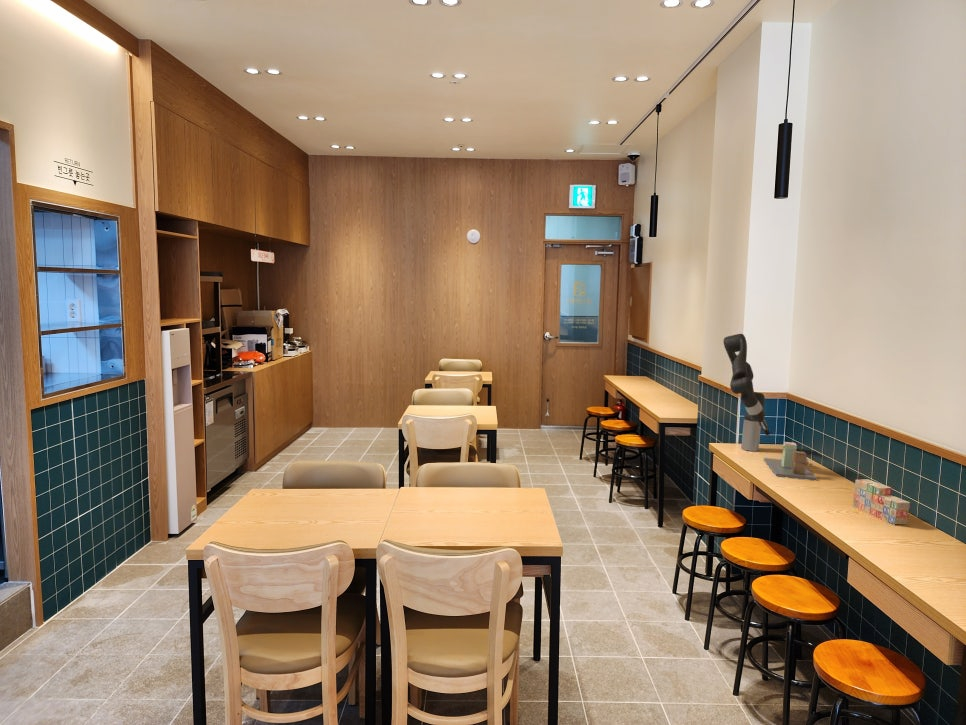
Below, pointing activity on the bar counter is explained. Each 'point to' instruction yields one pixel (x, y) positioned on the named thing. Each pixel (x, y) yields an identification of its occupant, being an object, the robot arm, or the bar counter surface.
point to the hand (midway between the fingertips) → (768, 434)
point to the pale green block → (787, 456)
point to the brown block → (799, 462)
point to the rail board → (786, 470)
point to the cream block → (790, 444)
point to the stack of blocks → (880, 502)
